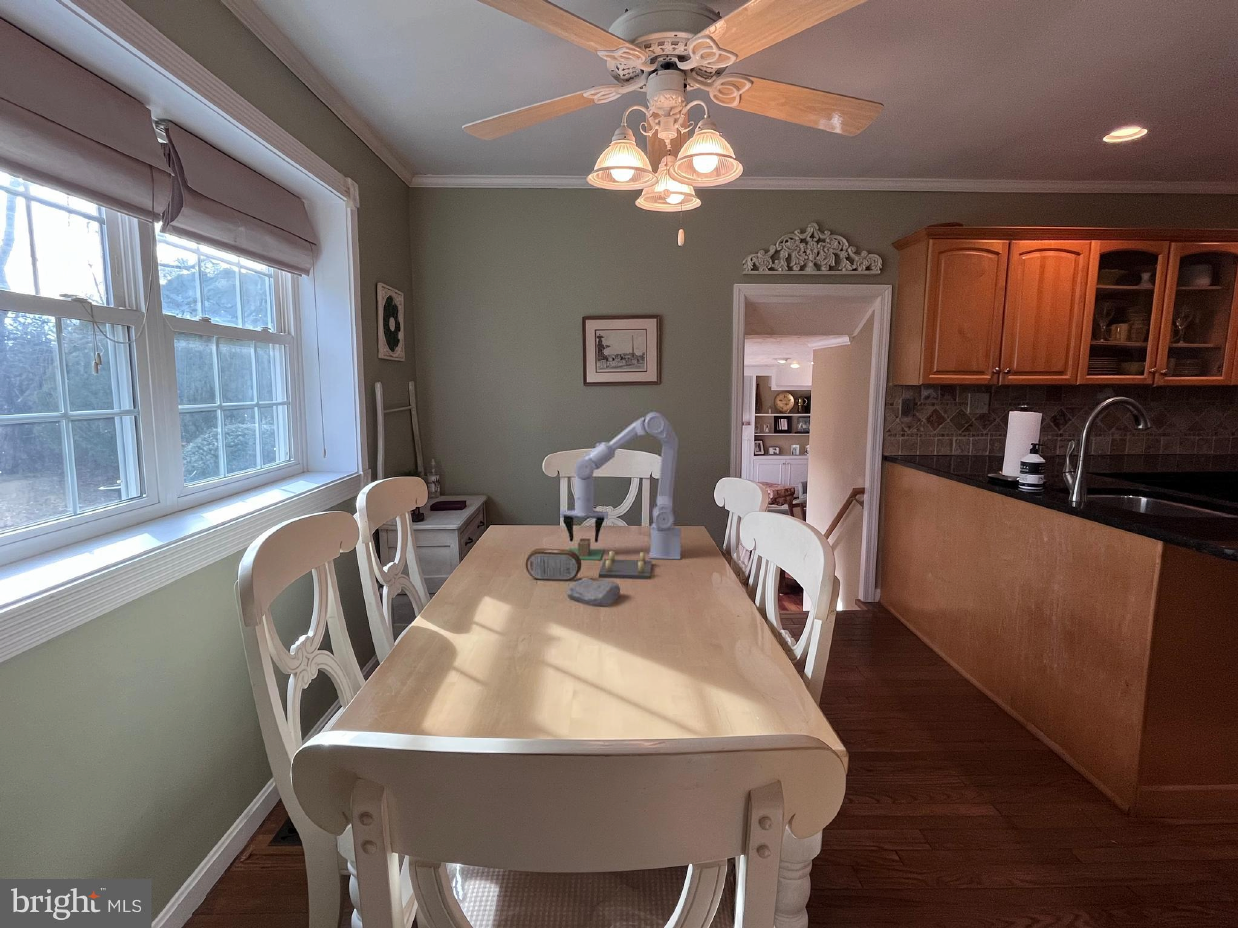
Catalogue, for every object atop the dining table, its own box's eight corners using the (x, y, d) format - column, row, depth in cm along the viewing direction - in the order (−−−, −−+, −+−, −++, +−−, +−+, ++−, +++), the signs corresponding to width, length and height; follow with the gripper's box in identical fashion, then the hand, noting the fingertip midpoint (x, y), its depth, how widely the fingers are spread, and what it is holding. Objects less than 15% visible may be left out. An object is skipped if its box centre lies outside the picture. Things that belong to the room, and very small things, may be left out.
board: (603, 552, 194) (604, 537, 193) (600, 562, 183) (600, 546, 182) (569, 551, 195) (569, 535, 194) (563, 561, 184) (563, 545, 183)
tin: (581, 578, 166) (581, 548, 165) (579, 582, 163) (579, 552, 162) (527, 576, 168) (527, 546, 167) (524, 580, 165) (524, 550, 164)
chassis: (651, 563, 180) (651, 550, 180) (649, 579, 166) (649, 564, 166) (604, 562, 181) (604, 549, 181) (598, 577, 168) (598, 563, 167)
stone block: (606, 615, 145) (623, 594, 154) (603, 598, 144) (621, 577, 153) (563, 609, 151) (581, 589, 159) (560, 592, 149) (579, 572, 158)
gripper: (558, 499, 183) (558, 543, 185) (606, 500, 182) (606, 545, 184) (562, 495, 190) (562, 537, 192) (608, 496, 189) (608, 539, 191)
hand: (584, 541), depth 188 cm, fingers open, 7 cm apart
